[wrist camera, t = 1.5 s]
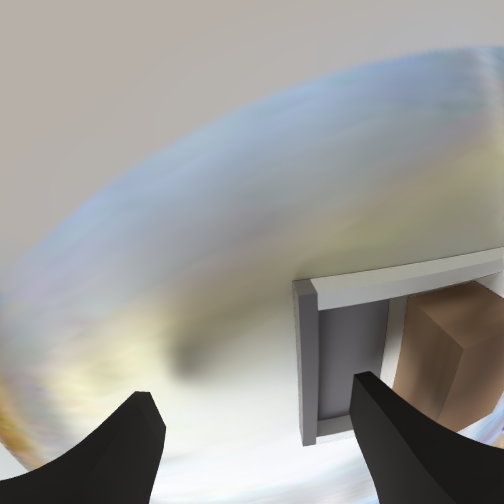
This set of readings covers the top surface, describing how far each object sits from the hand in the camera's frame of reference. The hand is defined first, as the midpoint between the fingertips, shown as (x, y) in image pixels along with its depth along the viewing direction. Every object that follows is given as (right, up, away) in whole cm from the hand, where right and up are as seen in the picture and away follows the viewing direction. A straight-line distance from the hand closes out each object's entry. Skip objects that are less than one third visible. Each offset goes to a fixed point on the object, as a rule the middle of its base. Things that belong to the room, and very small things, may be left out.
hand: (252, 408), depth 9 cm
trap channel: (+7, +1, +2) cm, 8 cm away
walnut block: (+8, +2, +2) cm, 9 cm away
